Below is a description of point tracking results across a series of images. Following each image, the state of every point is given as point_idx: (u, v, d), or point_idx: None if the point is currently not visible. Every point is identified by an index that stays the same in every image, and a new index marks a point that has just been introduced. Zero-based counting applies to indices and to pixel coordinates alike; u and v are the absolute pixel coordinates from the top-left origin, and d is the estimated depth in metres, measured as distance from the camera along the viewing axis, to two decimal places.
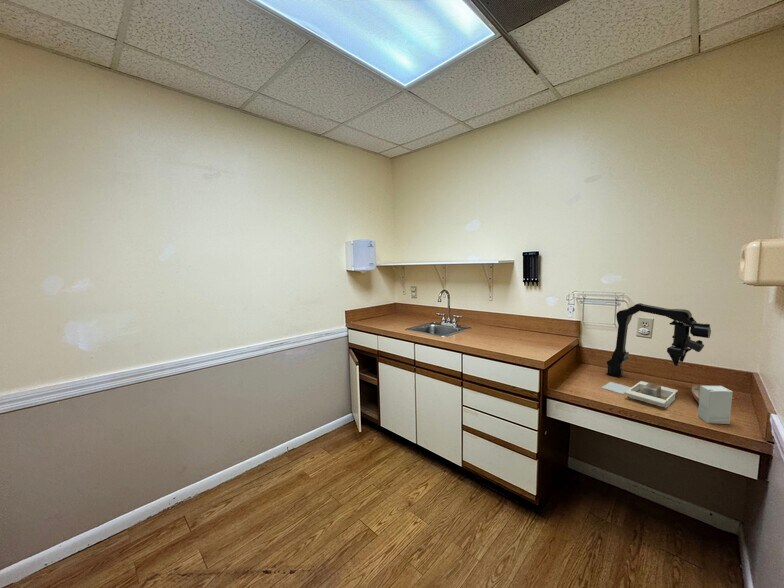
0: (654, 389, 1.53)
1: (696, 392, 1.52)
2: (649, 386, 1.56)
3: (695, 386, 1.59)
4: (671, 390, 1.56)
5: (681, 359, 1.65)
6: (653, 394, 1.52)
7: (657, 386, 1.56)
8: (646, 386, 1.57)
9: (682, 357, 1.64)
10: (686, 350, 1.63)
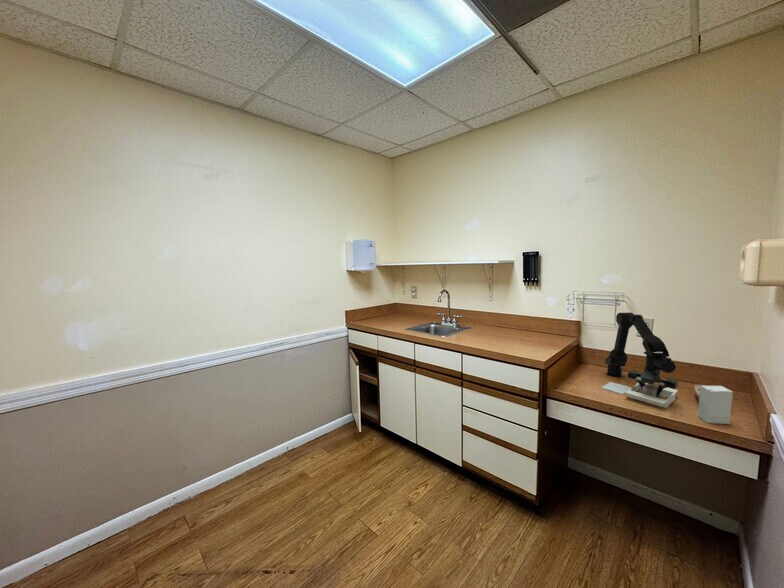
0: (654, 389, 1.53)
1: None
2: (649, 386, 1.56)
3: (697, 386, 1.58)
4: (671, 390, 1.56)
5: None
6: (653, 394, 1.52)
7: (657, 386, 1.56)
8: (646, 386, 1.57)
9: None
10: (658, 386, 1.52)
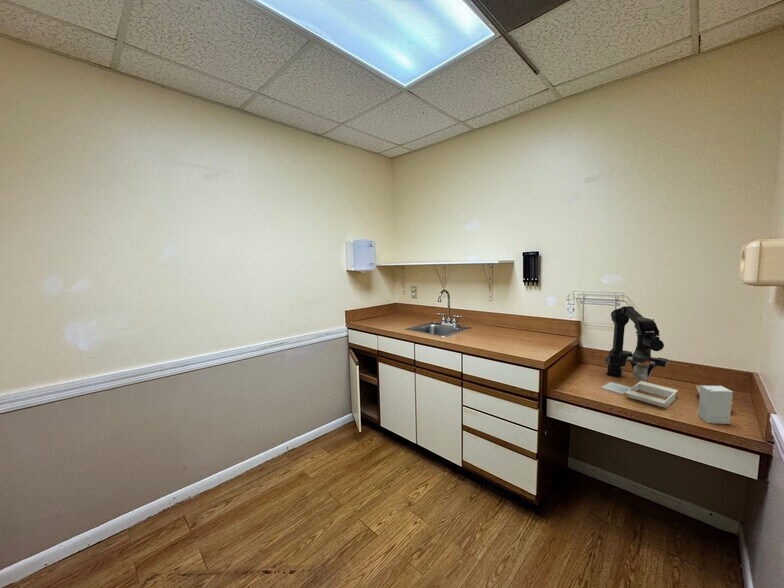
0: (645, 368, 1.55)
1: None
2: (640, 365, 1.59)
3: (699, 387, 1.57)
4: (671, 390, 1.56)
5: None
6: (644, 373, 1.55)
7: (648, 365, 1.59)
8: (637, 365, 1.59)
9: None
10: None
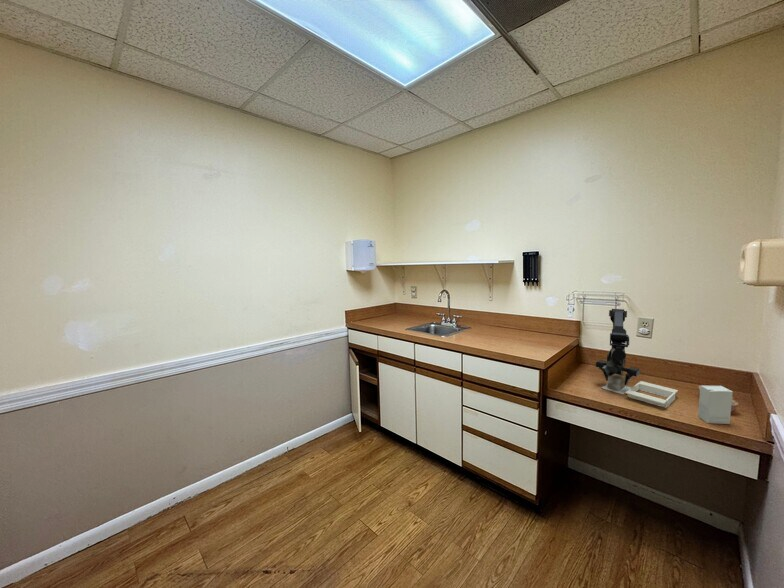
0: (618, 379, 1.65)
1: None
2: (614, 376, 1.68)
3: None
4: (671, 390, 1.56)
5: None
6: (617, 383, 1.65)
7: (621, 376, 1.68)
8: (611, 376, 1.69)
9: None
10: None
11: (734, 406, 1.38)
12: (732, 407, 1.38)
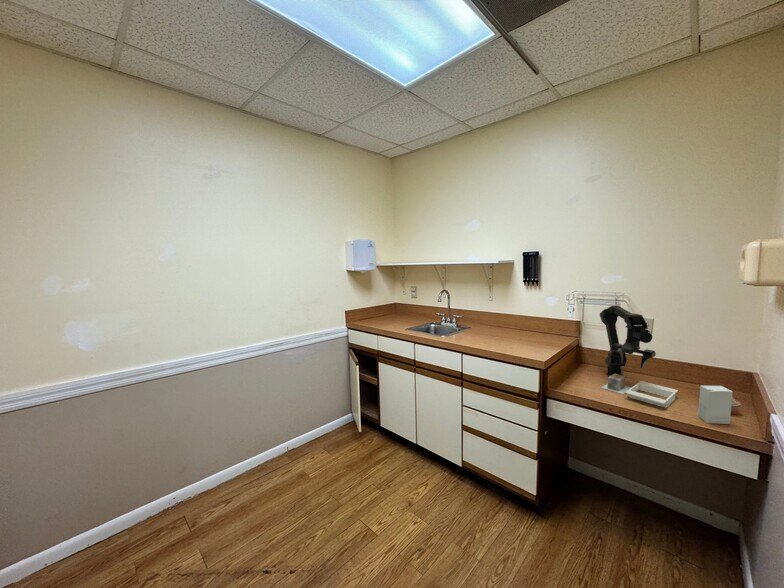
0: (618, 379, 1.65)
1: None
2: (614, 376, 1.68)
3: None
4: (671, 390, 1.56)
5: None
6: (617, 383, 1.65)
7: (621, 376, 1.68)
8: (611, 376, 1.69)
9: None
10: None
11: (737, 406, 1.38)
12: (735, 407, 1.38)
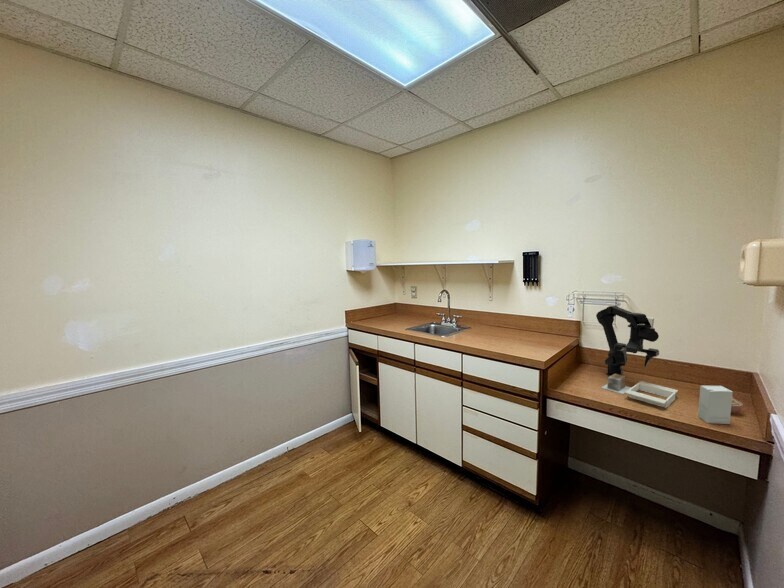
0: (618, 379, 1.65)
1: None
2: (614, 376, 1.68)
3: None
4: (671, 390, 1.56)
5: None
6: (617, 383, 1.65)
7: (621, 376, 1.68)
8: (611, 376, 1.69)
9: None
10: (646, 356, 1.66)
11: (739, 407, 1.38)
12: (737, 408, 1.38)
